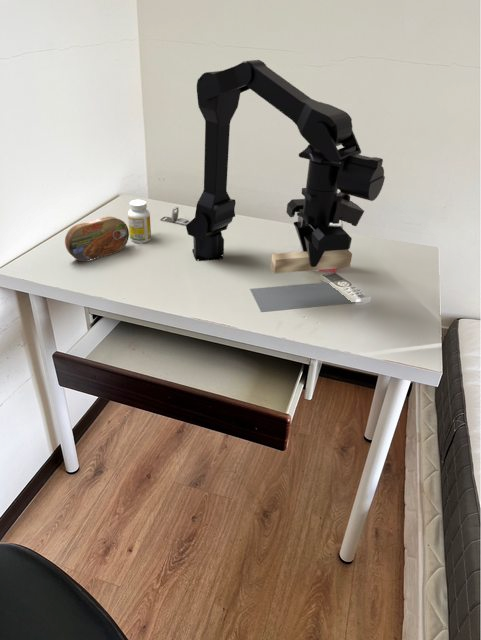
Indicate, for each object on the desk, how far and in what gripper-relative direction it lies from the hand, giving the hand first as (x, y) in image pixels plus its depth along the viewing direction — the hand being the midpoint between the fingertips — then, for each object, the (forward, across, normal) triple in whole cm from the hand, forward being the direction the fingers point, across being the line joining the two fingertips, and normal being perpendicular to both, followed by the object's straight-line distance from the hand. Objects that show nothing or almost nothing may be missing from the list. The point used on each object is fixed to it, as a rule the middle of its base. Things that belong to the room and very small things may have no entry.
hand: (311, 263), depth 93 cm
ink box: (+8, +12, -7) cm, 16 cm away
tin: (+8, +27, +42) cm, 51 cm away
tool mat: (+8, 0, 0) cm, 8 cm away
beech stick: (+1, 0, 0) cm, 1 cm away
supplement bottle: (+8, +34, +32) cm, 48 cm away
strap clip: (+9, +44, +22) cm, 50 cm away
